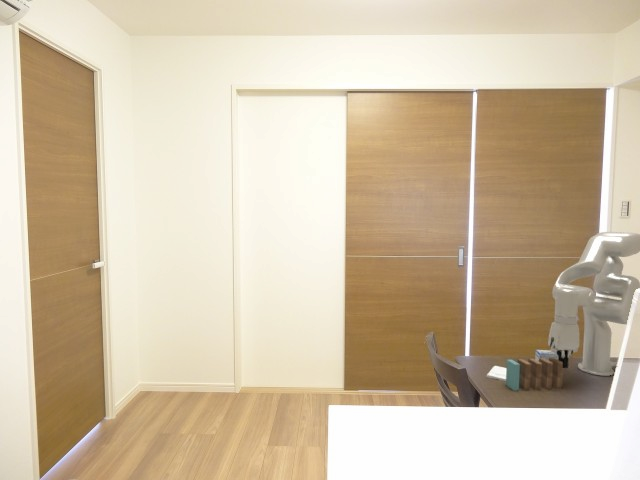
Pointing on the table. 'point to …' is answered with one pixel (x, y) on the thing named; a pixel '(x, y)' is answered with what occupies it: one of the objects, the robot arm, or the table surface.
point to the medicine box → (545, 355)
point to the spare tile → (512, 375)
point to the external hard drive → (497, 373)
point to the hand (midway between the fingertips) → (562, 366)
